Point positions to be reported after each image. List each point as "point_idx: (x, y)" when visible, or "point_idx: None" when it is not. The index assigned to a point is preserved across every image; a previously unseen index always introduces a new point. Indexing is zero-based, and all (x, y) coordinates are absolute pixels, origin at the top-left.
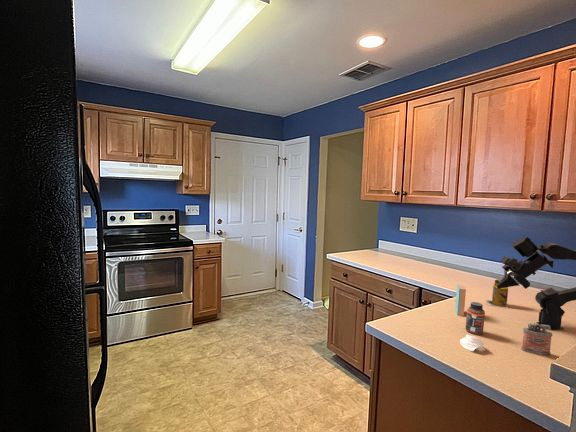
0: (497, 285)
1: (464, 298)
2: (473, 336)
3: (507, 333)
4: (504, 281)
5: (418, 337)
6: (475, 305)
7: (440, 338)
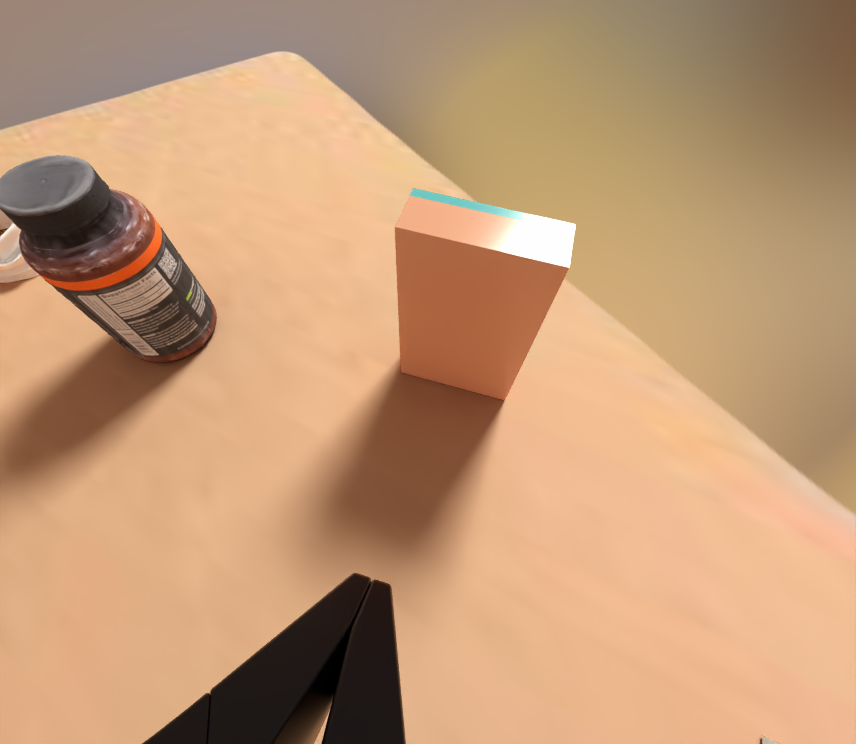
0: (371, 595)
1: (399, 288)
2: (8, 228)
3: (112, 523)
4: (167, 740)
5: (162, 125)
6: (23, 167)
7: (137, 178)
